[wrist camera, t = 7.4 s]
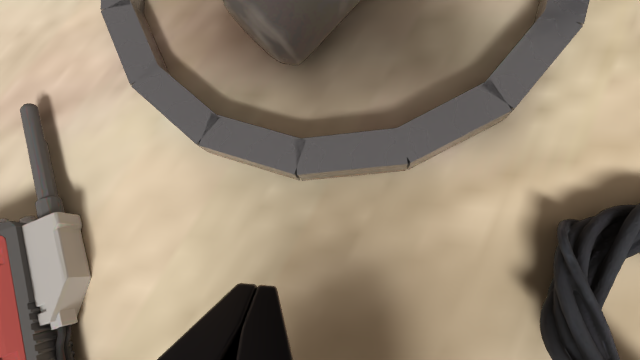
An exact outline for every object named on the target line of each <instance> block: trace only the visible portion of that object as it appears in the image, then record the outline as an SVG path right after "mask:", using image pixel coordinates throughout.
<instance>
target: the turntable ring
mask: <svg viewBox="0 0 640 360" xmlns="http://www.w3.org/2000/svg"><path fill="white" fill-rule="evenodd" d="M588 4H589V0H540V3H539V7H538V11H537V15H536V18H535V22H534V24H533V26H532V27H531V28H530V29H529V30H528V31H527V33H526V34H525V35H524V36H523V37H522V39H521V40H520V41H519V42H518V43H517V45H516V46H515V47H514V48H513V49H512V51H511V52H510V53H509V54H508V55H507V57H506V58H505V59H504V60H503V61H502V62H501V64H500V65H499V66H498V67H497V68H496V70H495V71H494V72H493V73H492V74H491V76H490V77H489V78H488V79H487V80H486V82H484V83H482V84H480V85H478V86H476V87H475V88H473V89H471V90H469V91H467V92H465V93H463V94H461V95H459V96H457V97H455V98H453V99H451V100H450V101H448V102H446V103H444V104H442V105H440V106H438V107H436V108H434V109H432V110H430V111H428V112H427V113H425V114H423V115H421V116H419V117H417V118H415V119H413V120H411V121H409V122H407V123H405V124H403V125H402V126H400V127H398V128H392V129H383V130H374V131H365V132H355V133H346V134H337V135H328V136H319V137H310V138H297V137H294V136H290V135H287V134H283V133H280V132H276V131H273V130H269V129H266V128H262V127H259V126H255V125H252V124H248V123H244V122H241V121H237V120H234V119H230V118H227V117H223V116H220V115H216V114H215V113H214V112H213V111H211V110H210V109H209V108H208V107H207V106H206V105H204V104H203V103H202V102H201V101H200V100H199V99H197V98H196V97H195V96H194V95H193V94H191V93H190V92H189V91H188V90H187V89H186V88H184V87H183V86H182V85H181V84H180V83H178V82H177V81H176V80H175V79H174V78H173V77H171V76H170V74H169V72H168V70H167V67H166V65H165V63H164V60H163V58H162V56H161V53H160V51H159V49H158V47H157V44H156V42H155V40H154V37H153V35H152V33H151V30H150V28H149V26H148V24H147V21H146V19H145V17H144V0H101V10H102V11H101V13H102V15H103V18H104V20H105V23H106V25H107V28H108V30H109V33H110V35H111V38H112V40H113V43H114V45H115V48H116V50H117V53H118V55H119V58H120V60H121V63H122V65H123V68H124V70H125V73H126V75H127V78H128V80H129V83H130V85H132V87H133V88H134V89H135V90H136V91H137V92H138V93H139V94H141V95H142V96H143V97H144V98H145V99H146V100H147V101H148V102H150V103H151V104H152V105H153V106H154V107H155V108H156V109H157V110H159V111H160V112H161V113H162V114H163V115H164V116H165V117H166V118H167V119H169V120H170V121H171V122H172V123H173V124H174V125H175V126H176V127H178V128H179V129H180V130H181V131H182V132H183V133H184V134H185V135H187V136H188V137H189V138H190V139H191V140H192V141H193V142H194V143H196V144H197V145H198V146H200V147H201V148H203V149H204V150H206V151H207V152H209V153H212V154H216V155H219V156H222V157H225V158H229V159H232V160H235V161H238V162H242V163H245V164H248V165H251V166H255V167H258V168H261V169H265V170H268V171H271V172H274V173H278V174H281V175H284V176H287V177H291V178H294V179H297V180H300V179H301V180H313V179H323V178H333V177H343V176H354V175H364V174H374V173H385V172H395V171H405V169H406V167H407V169H410V168H412V167H414V166H416V165H418V164H420V163H422V162H424V161H426V160H427V159H429V158H431V157H433V156H435V155H437V154H439V153H441V152H443V151H445V150H447V149H449V148H451V147H453V146H455V145H456V144H458V143H460V142H462V141H464V140H466V139H468V138H470V137H472V136H474V135H476V134H478V133H480V132H482V131H484V130H485V129H487V128H489V127H491V126H493V125H495V124H497V123H499V122H501V121H502V120H503V119H505V118H506V117H507V116H508V115H509V114H510V113H511V112H512V111H513V110H514V109H515V107H516V106H517V105H518V104H519V103H520V101H521V100H522V99H523V98H524V96H525V95H526V94H527V93H528V92H529V90H530V89H531V88H532V87H533V86H534V84H535V83H536V82H537V81H538V80H539V78H540V77H541V76H542V75H543V73H544V72H545V71H546V70H547V69H548V67H549V66H550V65H551V64H552V63H553V61H554V60H555V59H556V58H557V57H558V55H559V54H560V53H561V52H562V50H563V49H564V48H565V47H566V46H567V44H568V43H569V42H570V41H571V40H572V38H573V37H574V36H575V35H576V34H577V32H578V31H579V30H580V29H581V27H582V25H583V24H584V21H585V17H586V13H587V9H588Z"/></svg>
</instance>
